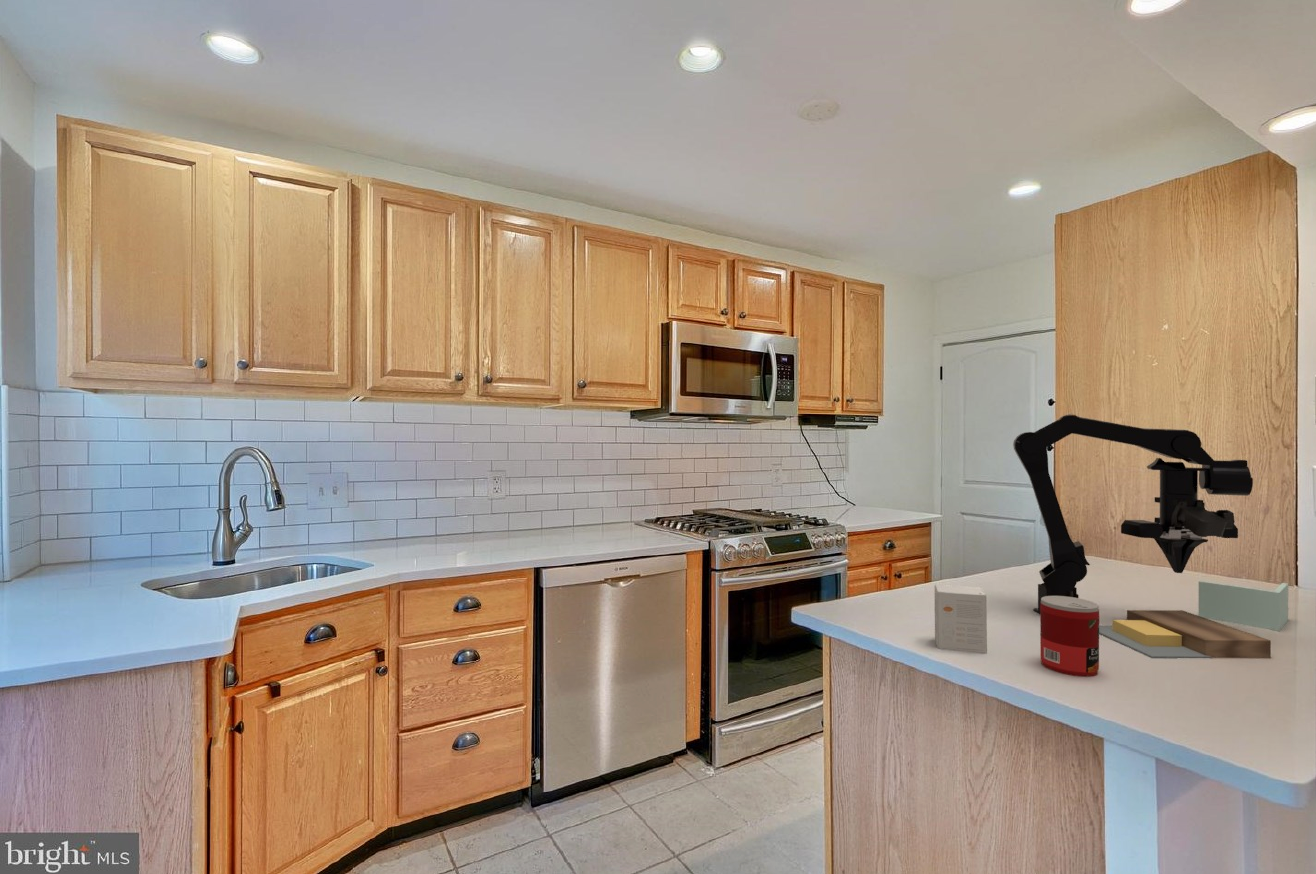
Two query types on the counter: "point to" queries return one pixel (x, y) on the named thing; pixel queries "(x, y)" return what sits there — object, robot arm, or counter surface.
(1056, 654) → the canned food
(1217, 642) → the brown flat block
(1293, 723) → the counter surface
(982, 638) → the small box
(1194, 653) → the mat
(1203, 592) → the right angle wall
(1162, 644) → the yellow flat block
